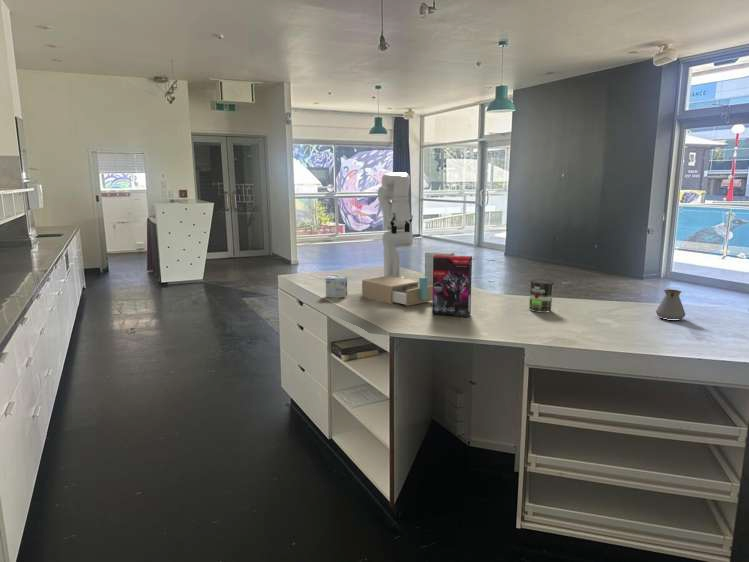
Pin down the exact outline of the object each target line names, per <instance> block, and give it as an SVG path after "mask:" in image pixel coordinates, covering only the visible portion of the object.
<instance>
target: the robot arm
mask: <svg viewBox="0 0 749 562" xmlns="http://www.w3.org/2000/svg"><path fill="white" fill-rule="evenodd" d="M410 185H411V177H410V174H408V173H407V172H394V171H393V172H388V173H384V174H383V175H382V176H381V186H380V187H379V188H378V189H377V199H378V203H379V205H380V207H381V210H382V218H383V227H384V230H386V232H384V233H383V234H382V236H381V237H382V246H383V277H384V276H394V277H399V278H404V279H407V278H406V276H401V254H400V252H399V251H398V249H397V248H402V249H403V248H404V249H405V248H410V247H412V245H413V239H414V237H413V231H412V221H413V218H414V215H413V214H411V210H410V209H411V207H410V202H409V200H410V198H409V190H410ZM392 201H393V202H392Z"/></svg>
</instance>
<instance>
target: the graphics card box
mask: <svg viewBox="0 0 749 562" xmlns="http://www.w3.org/2000/svg"><path fill="white" fill-rule="evenodd" d="M472 268H473V256H472V255H455V254H454V255H435V256H434V257H433V301H432V308H431V309H432V310H431V312H432V315H437V314H438V316H440V315H441V316H451V317H452V316H453V317H463V318H468V317H469V316H470V315H471V308H472V272H473V271H472V270H473V269H472Z"/></svg>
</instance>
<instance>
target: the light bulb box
mask: <svg viewBox="0 0 749 562" xmlns="http://www.w3.org/2000/svg"><path fill="white" fill-rule="evenodd" d="M346 296H348V276H346V275H345V276H343V275H340V276H339V275H327V276H326V277H325V298H326V297H346ZM346 298H347V297H346Z"/></svg>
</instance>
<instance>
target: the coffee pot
mask: <svg viewBox="0 0 749 562" xmlns="http://www.w3.org/2000/svg"><path fill="white" fill-rule="evenodd" d="M663 291H664V293H665V295H664V297H663V299H662V301H660V304H659V306H658V307H657V309H656V310H655V313H656V315H657V316H658V317H659V318H660V317H662V318H667V319H680V320H682V319H684V318H685V316H686V312H685V310H684V309H685V308H684V305H683V304H682V301H681V297H680V296H681V295H680V294H681V293H682V291H681V290H679V289H678V290H677V289H669V288H668V289H664V290H663Z"/></svg>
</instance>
